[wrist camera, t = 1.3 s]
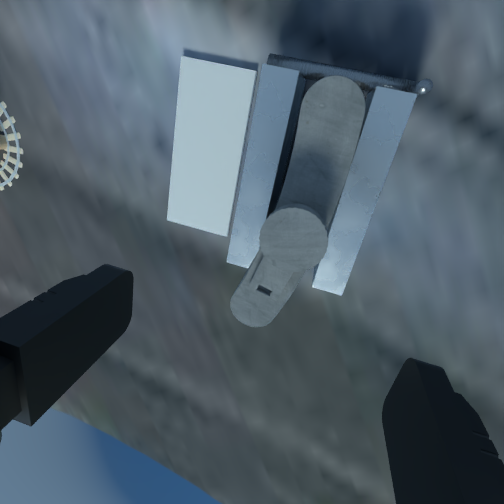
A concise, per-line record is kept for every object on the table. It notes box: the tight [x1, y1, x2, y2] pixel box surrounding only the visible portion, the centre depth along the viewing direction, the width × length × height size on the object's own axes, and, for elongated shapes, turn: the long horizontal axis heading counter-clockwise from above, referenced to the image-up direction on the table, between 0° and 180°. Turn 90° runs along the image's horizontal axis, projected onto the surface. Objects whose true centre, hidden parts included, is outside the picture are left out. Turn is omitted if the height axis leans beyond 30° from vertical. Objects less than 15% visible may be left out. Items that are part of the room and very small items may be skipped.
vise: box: [227, 53, 433, 296], centre depth 31 cm, size 14×19×7 cm
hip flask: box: [230, 75, 365, 327], centre depth 25 cm, size 16×4×20 cm, turn 162°
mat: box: [167, 56, 257, 237], centre depth 35 cm, size 8×18×1 cm, turn 169°
